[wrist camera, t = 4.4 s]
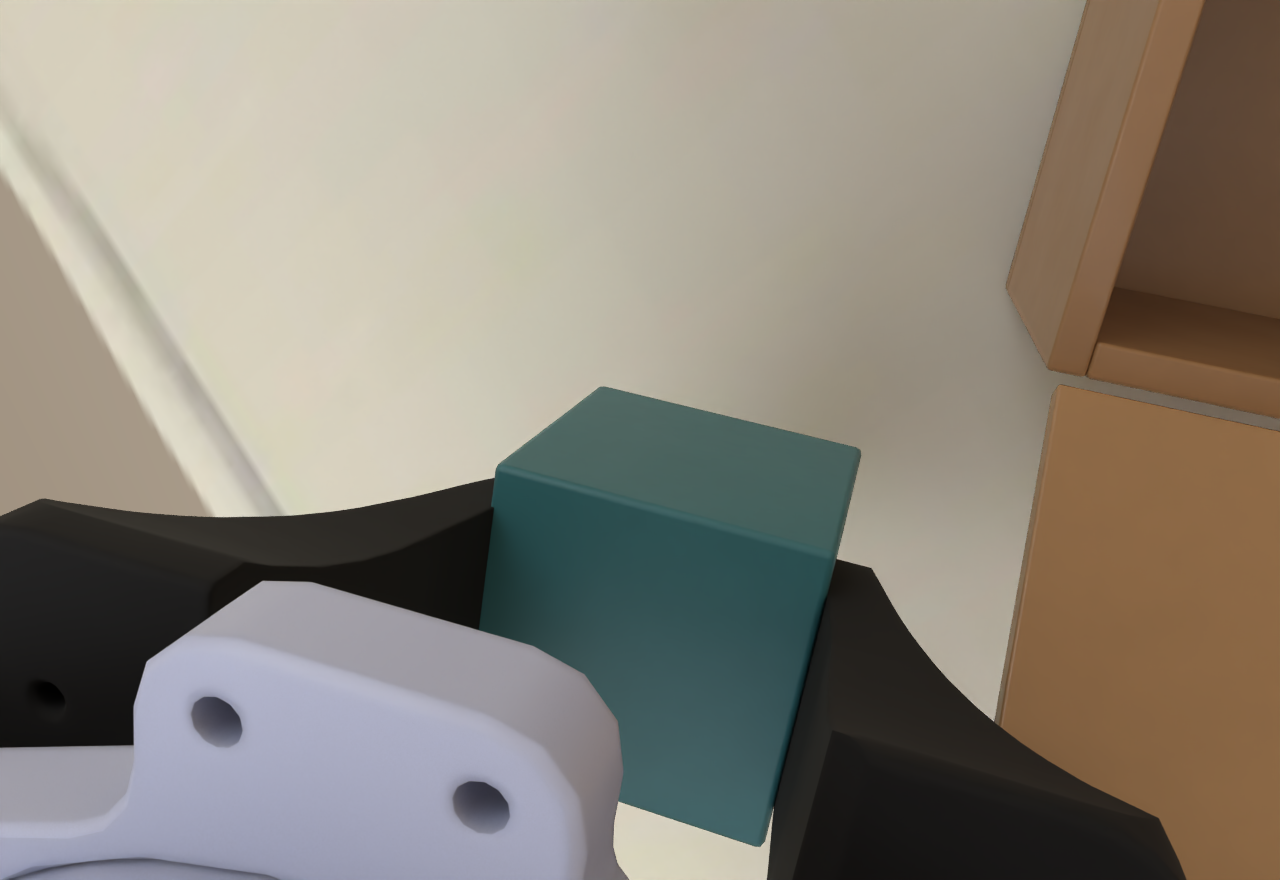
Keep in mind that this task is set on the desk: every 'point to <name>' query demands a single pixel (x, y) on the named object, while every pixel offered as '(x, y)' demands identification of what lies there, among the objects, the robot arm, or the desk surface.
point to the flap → (1156, 623)
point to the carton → (1162, 205)
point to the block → (675, 588)
